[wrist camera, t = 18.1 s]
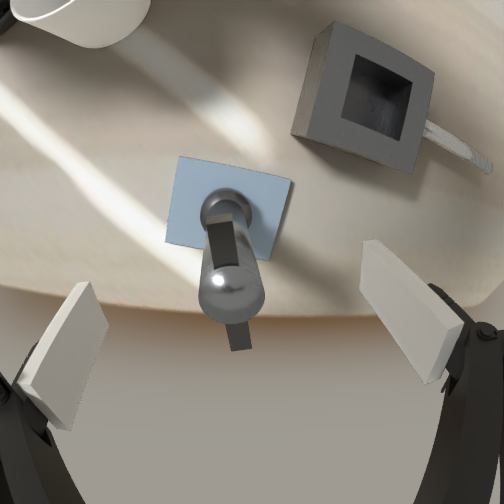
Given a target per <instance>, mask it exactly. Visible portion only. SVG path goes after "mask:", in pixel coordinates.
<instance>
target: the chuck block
mask: <svg viewBox="0 0 504 504" xmlns="http://www.w3.org/2000/svg"><path fill="white" fill-rule="evenodd" d="M434 76H435V73H434V72H433V71H431V70H430V69H428V68H426V67H425V66H423V65H422V64H420V63H418V62H417V61H415V60H413V59H412V58H410V57H408V56H407V55H405V54H403V53H401V52H400V51H398V50H396V49H394V48H392V47H390V46H388V45H387V44H385V43H383V42H381V41H379V40H377V39H375V38H373V37H371V36H368V35H366V34H364V33H362V32H360V31H358V30H355V29H353V28H351V27H348V26H346V25H344V24H341V23H339V22H336V21H334V22H333V23H332V24H331V25H329V26H328V27H327V28H326V29H325V30H323V31H322V32H321V33H320V34H319V35H317V36H316V37H315V41H314V45H313V49H312V53H311V56H310V60H309V64H308V68H307V72H306V76H305V80H304V84H303V88H302V91H301V95H300V99H299V103H298V107H297V111H296V115H295V118H294V122H293V126H292V130H291V135H295V136H298V137H302V138H305V139H309V140H312V141H315V142H319V143H322V144H325V145H328V146H331V147H334V148H337V149H340V150H343V151H346V152H349V153H352V154H355V155H358V156H360V157H363V158H366V159H369V160H371V161H374V162H376V163H379V164H382V165H384V166H388V167H391V168H394V169H397V170H400V171H403V172H406V173H409V174H412V172H413V169H414V165H415V162H416V158H417V154H418V151H419V147H420V143H421V139H422V136H423V137H425V138H426V139H428V140H430V141H432V142H434V143H435V144H437V145H439V146H441V147H442V148H444V149H446V150H447V151H449V152H451V153H452V154H454V155H456V156H457V157H459V158H461V159H462V160H464V161H465V162H467V163H468V164H470V165H471V166H473V167H474V168H476V169H477V170H479V171H480V172H482V173H483V174H485V175H489V174H490V173H491V172H492V170H493V165H492V163H491V162H490V161H489V160H488V159H486V158H485V157H484V156H482V155H481V154H480V153H478V152H477V151H475V150H474V149H473V148H471V147H470V146H468V145H467V144H465V143H464V142H463V141H461V140H460V139H458V138H457V137H455V136H454V135H452V134H450V133H449V132H447V131H446V130H444V129H443V128H441V127H439V126H438V125H436V124H434V123H433V122H431V121H429V120H428V119H426V118H427V113H428V108H429V104H430V98H431V93H432V88H433V82H434Z"/></svg>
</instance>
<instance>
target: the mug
mask: <svg viewBox="0 0 504 504" xmlns="http://www.w3.org/2000/svg"><path fill="white" fill-rule="evenodd" d="M150 3H151V0H10V8H11V12H12V13H13V15H14V16H15V18H16V19H18V20H20V21H22V22H25V23H28V24H30V25H33V26H35V27H38V28H40V29H42V30H45V31H47V32H50V33H52V34H54V35H56V36H59V37H61V38H63V39H65V40H68V41H70V42H72V43H74V44H76V45H79V46H81V47H86V48H102V47H106V46H109V45H112V44H114V43H116V42H118V41H120V40H122V39H124V38H125V37H127V36H128V35H129V34H131V33H132V32H133V31H134V30H135V29H136V28H137V27H138V26H139V25H140V23H141V22H142V21H143V19H144V18H145V16H146V14H147V12H148V10H149V7H150Z"/></svg>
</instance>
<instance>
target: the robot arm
mask: <svg viewBox="0 0 504 504" xmlns="http://www.w3.org/2000/svg"><path fill="white" fill-rule="evenodd" d="M17 20H18V19H16V18H15V16H14V15H13V13H12V12H11V8H10V0H0V34H2V33H3V32H4V31H6V30H7V29H8V28H9V27H10V26H11V25H13V24H14V23H15V22H16V21H17ZM359 290H360V292H361V293H362V295H363V296H364V297H365V299H366V300H367V301H368V303H369V304H370V306H371V307H372V308H373V310H374V311H375V312H376V314H377V315H378V317H379V318H380V319H381V321H382V322H383V324H384V325H385V326H386V328H387V329H388V331H389V332H390V334H391V335H392V337H393V338H394V340H395V341H396V342H397V344H398V345H399V347H400V348H401V350H402V351H403V353H404V354H405V356H406V357H407V359H408V360H409V362H410V363H411V365H412V366H413V368H414V370H415V371H416V373H417V374H418V376H419V377H420V379H421V380H422V382H423V383H424V385H426V384H429V383H431V382H433V381H436V380H438V379H440V378H441V376H442V373H443V372H444V369H445V368H446V369H447V370H448V372H449V373H450V374H449V376H448V378H447V380H446V382H445V384H444V386H443V388H442V390H441V393H443V392H444V390H445V388H446V390H445V396H444V401H443V406H442V411H441V416H440V421H439V425H438V429H437V433H436V437H435V441H434V445H433V448H432V452H431V455H430V458H429V462H428V465H427V468H426V471H425V474H424V477H423V480H422V483H421V485H420V488H419V491H418V493H417V496H416V499H415V501H414V503H413V504H489V502H490V498H491V493H492V489H493V485H494V480H495V475H496V470H497V464H498V457H500V504H504V330H499V331H498V330H497V329H496V328H495V327H494V326H492V325H491V324H489V323H486V322H477V323H475V322H474V321H473V320H472V319H471V318H470V317H469V316H468V315H467V313H466V312H465V311H464V310H463V309H462V308H461V307H460V306H459V305H458V304H457V303H455V302H454V300H452V299H451V298H450V297H449V296H448V295H447V294H446V293H445V292H444V291H443V290H442V289H441V288H439V287H437V286H435V285H433V284H431V283H430V284H426V283H425V282H424V281H423V280H422V279H420V278H419V277H418V276H417V275H416V274H415V273H414V272H413V271H412V270H411V269H410V268H409V267H408V266H407V265H405V264H404V263H403V262H402V261H401V260H400V259H399V258H398V257H397V256H396V255H394V254H393V253H392V252H391V251H390V250H389V249H388V248H387V247H385V246H384V245H383V244H382V243H381V242H380V241H379V240H377V239H374V240H367V241H363V250H362V264H361V276H360V287H359ZM108 327H109V325H108V323H107V321H106V318H105V316H104V314H103V312H102V309H101V307H100V305H99V303H98V300H97V298H96V295H95V293H94V291H93V288H92V286H91V283H90V281H87V282H80V283H77V284H76V286H75V287H74V288H73V290H72V291H71V293H70V294H69V296H68V297H67V299H66V300H65V302H64V303H63V305H62V306H61V308H60V309H59V311H58V312H57V314H56V315H55V317H54V318H53V320H52V322H51V323H50V325H49V326H48V328H47V329H46V331H45V333H44V334H43V336H42V338H41V339H40V340H39V341H38V342H37V343H36V344H35V345H34V346H33V347H32V349H31V350H30V352H29V354H28V357H26V359H25V361H24V364H22V366H21V368H20V370H19V372H18V373H17V375H16V377H15V379H14V381H13V383H12V385H10V384H9V383H8V382H7V380H6V379H5V378H4V376H3V375H2V374H1V372H0V504H85V502H84V500H83V498H82V497H81V495H80V493H79V491H78V489H77V488H76V486H75V484H74V482H73V480H72V479H71V476H70V474H69V472H68V470H67V468H66V466H65V464H64V462H63V459H62V457H61V455H60V453H59V450H58V448H57V446H56V443H55V441H54V438H53V436H52V433H51V431H50V430H49V428H48V427H47V423H48V420H49V421H50V422H51V423H52V424H53V425H54V427H56V429H61V430H67V431H71V429H72V426H73V422H74V419H75V416H76V413H77V410H78V407H79V404H80V401H81V398H82V395H83V392H84V389H85V386H86V383H87V380H88V378H89V375H90V372H91V369H92V367H93V364H94V361H95V359H96V356H97V353H98V351H99V349H100V346H101V344H102V341H103V339H104V336H105V334H106V331H107V329H108Z"/></svg>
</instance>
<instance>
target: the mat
mask: <svg viewBox="0 0 504 504" xmlns="http://www.w3.org/2000/svg"><path fill="white" fill-rule="evenodd" d="M290 183H291V180H290V179H287V178H283V177H279V176H275V175H271V174H266V173H262V172H258V171H253V170H249V169H244V168H239V167H234V166H230V165H225V164H220V163H215V162H209V161H204V160H199V159H193V158H187V157H181V156H179V159H178V164H177V169H176V175H175V181H174V186H173V192H172V198H171V205H170V211H169V218H168V225H167V232H166V239H165V242H167V243H172V244H178V245H183V246H189V247H194V248H200V249H204V243H205V236H206V232H205V230H204V229H203V227H202V225H201V221H200V211H201V207H202V204H203V201H204V200H205V198H206V197H207V196H208V195H209V194H210V193H211V192H212V191H214V190H216V189H219V188H233V189H236V190H238V191H239V192H241V193H242V194H243V195H244V196H245V197H246V198H247V200H248V202H249V204H250V207H251V210H252V221H251V224H250V227H249V229H248V231H249V235H250V239H251V243H252V246H253V250H254V254H255V258H256V259H262V260H268V261H269V258H270V254H271V251H272V247H273V244H274V240H275V237H276V233H277V230H278V226H279V223H280V219H281V215H282V212H283V208H284V205H285V201H286V197H287V194H288V190H289V187H290Z"/></svg>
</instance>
